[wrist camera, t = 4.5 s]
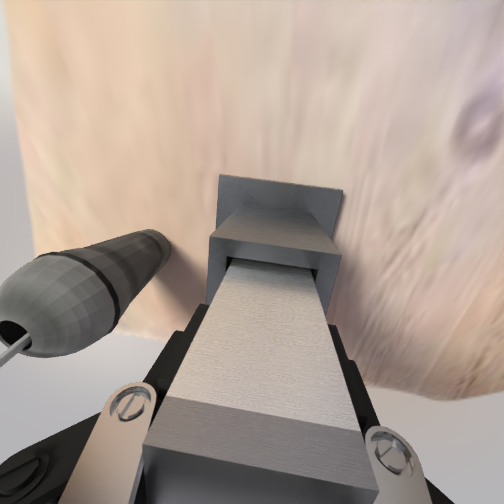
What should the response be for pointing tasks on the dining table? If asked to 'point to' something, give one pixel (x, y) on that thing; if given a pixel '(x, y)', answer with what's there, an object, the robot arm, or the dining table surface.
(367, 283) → the dining table surface
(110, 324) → the beverage cup
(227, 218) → the stand
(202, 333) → the column
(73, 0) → the dining table surface
